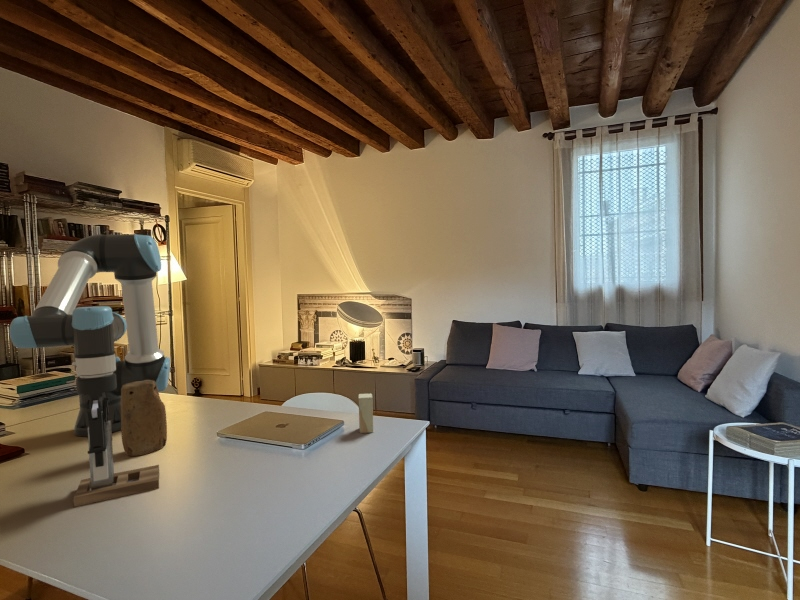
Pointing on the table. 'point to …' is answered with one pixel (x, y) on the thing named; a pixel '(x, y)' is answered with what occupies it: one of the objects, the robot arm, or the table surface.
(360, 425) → the box
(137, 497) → the table surface
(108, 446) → the steel bit
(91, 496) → the socket block
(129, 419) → the block
